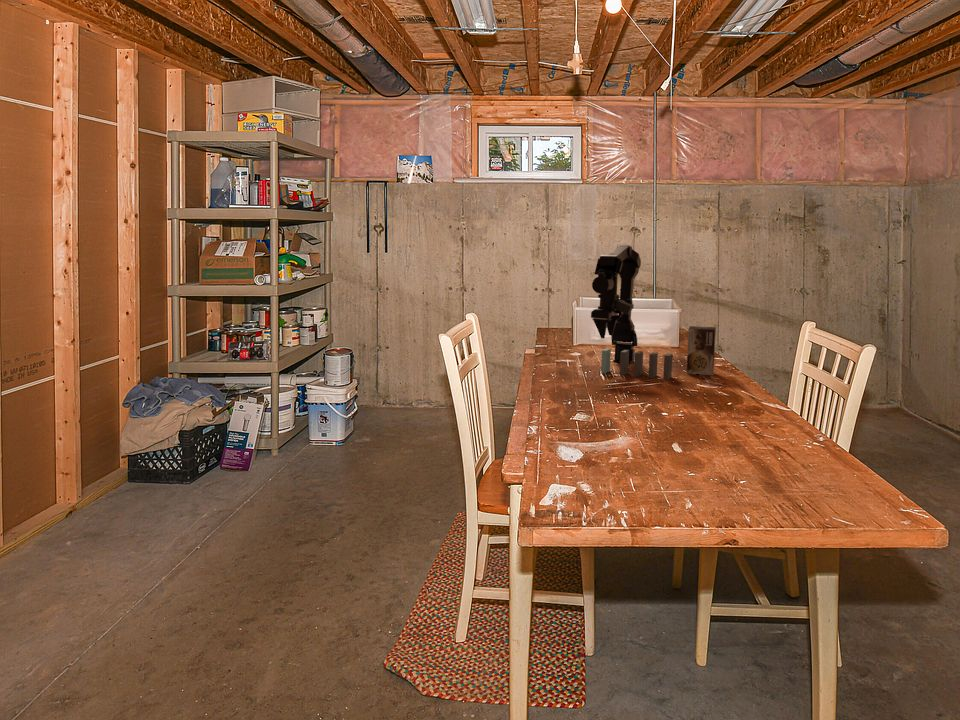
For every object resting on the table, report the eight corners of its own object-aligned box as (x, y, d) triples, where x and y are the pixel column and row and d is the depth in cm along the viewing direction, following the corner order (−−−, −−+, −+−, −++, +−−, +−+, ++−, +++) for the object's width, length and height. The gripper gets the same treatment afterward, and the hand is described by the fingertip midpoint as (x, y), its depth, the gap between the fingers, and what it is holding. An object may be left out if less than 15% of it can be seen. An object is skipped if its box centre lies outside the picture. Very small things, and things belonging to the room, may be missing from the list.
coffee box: (713, 372, 271) (716, 326, 268) (713, 376, 265) (716, 329, 262) (687, 370, 274) (689, 325, 271) (685, 374, 268) (688, 327, 265)
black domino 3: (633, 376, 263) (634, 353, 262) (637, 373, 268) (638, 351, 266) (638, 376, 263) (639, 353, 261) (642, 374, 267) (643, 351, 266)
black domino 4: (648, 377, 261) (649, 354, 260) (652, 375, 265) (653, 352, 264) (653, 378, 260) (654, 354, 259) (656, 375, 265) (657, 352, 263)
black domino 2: (619, 374, 265) (620, 351, 264) (623, 372, 270) (624, 349, 268) (624, 375, 265) (625, 352, 263) (628, 372, 269) (629, 350, 268)
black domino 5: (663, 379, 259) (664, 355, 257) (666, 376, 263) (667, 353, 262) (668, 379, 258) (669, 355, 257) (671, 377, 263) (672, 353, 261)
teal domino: (601, 373, 268) (601, 350, 267) (605, 370, 273) (606, 348, 271) (605, 373, 268) (606, 350, 266) (609, 371, 272) (610, 348, 271)
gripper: (623, 294, 253) (621, 341, 256) (639, 290, 270) (636, 335, 273) (591, 293, 258) (589, 339, 261) (608, 289, 275) (606, 333, 277)
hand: (606, 336), depth 268 cm, fingers open, 9 cm apart
